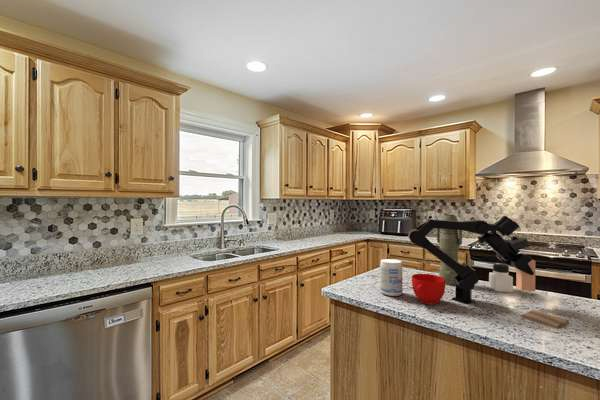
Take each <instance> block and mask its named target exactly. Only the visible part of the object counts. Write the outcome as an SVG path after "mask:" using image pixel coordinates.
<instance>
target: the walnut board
mask: <svg viewBox="0 0 600 400" xmlns="http://www.w3.org/2000/svg"><path fill="white" fill-rule="evenodd" d="M520 318H522V319H526V320H529V321H532V322H535V323H539V324H542V325H544V326H548V327H551V328H554V329H559V328H561V327H562V326H564V325H566V324H568V323H570V320H569V319H568V318H564V317H560V316H557V315H553V314H551V313H547V312H543V311H540V310H536V309H533V310H531V311H527V312H526V313H523V314H521V317H520Z"/></svg>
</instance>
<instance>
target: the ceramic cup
mask: <svg viewBox="0 0 600 400" xmlns="http://www.w3.org/2000/svg"><path fill="white" fill-rule="evenodd" d="M445 284H446V280H445V279H444V278H443V277H440V276H439V275H436V274H431V273H415V274H412V275H411V285H412V291H413V293H414V295H415V296H416V297H417V299H418V300H419V302H420V303H422V304H426V305H437V304H438V303H439V302H440V301H441V300H442V298H443V296H444V294H445V291H446V285H445Z"/></svg>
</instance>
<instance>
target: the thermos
mask: <svg viewBox="0 0 600 400" xmlns="http://www.w3.org/2000/svg"><path fill="white" fill-rule="evenodd" d="M440 220H448V221H459V220H458V217H457V215H455V214H443V215H442V217H441V219H440ZM440 230H441V232H440ZM436 241H437V242H436V243H437V244H439V249H440V250H442V251H443V252H444V253H446V254H447V255H448V256H450V257H451V258H452V259H454V260H455V261H456V262H458V263H459V250H460V246H461V245H462V244H463V230H451V229H437V228H436ZM438 272H439V274H438V276H440V277H443V278H444V279H445V280H446V284H445V286H453V287H454V286H455V287H456V283H455V281H454V277H455V276H457V275H458V274H457V273H456V272H455V271H454V270H453V269H452V268H450V267H449V266H448V265H446V264H445V263H444V262H442V261H441V260H440V268H439V271H438Z"/></svg>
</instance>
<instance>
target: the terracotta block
mask: <svg viewBox="0 0 600 400" xmlns="http://www.w3.org/2000/svg"><path fill="white" fill-rule="evenodd" d="M528 265H529V266H530V268H531V269H532V271H533V272H534V274H533V275H530V274H528V273H525V272H523V271H521V270H519V269H516V268H515V270H516V280H515V283H516V285H515V286H516V289H519V290H521V291H524V292H525V291H527V292H536V260H534V259H532V260H531V261H530V262H529V263H528Z"/></svg>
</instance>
